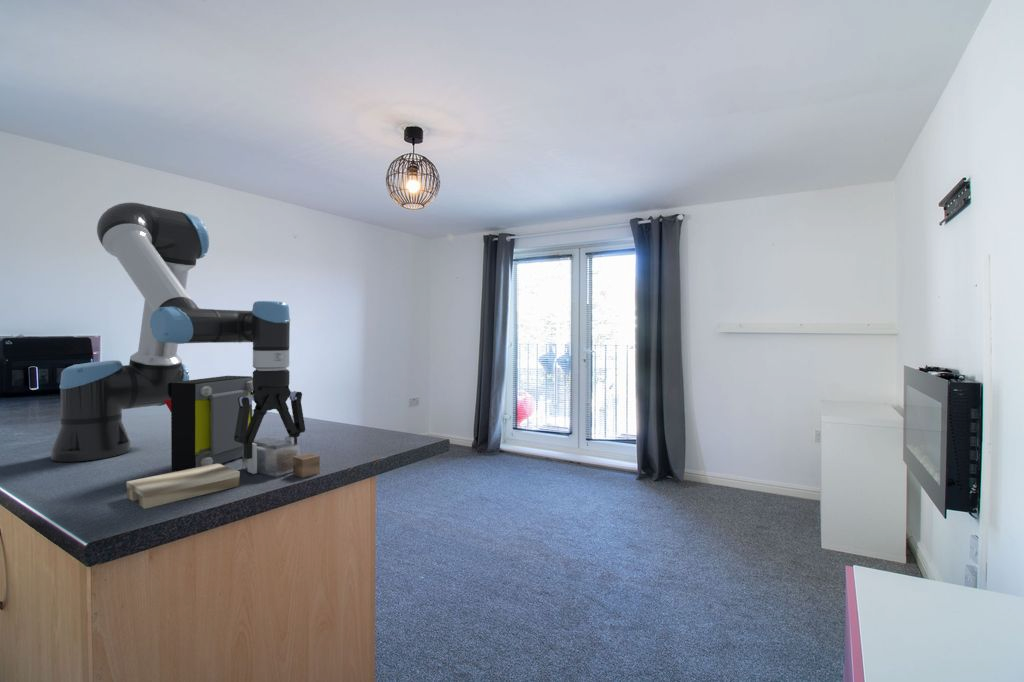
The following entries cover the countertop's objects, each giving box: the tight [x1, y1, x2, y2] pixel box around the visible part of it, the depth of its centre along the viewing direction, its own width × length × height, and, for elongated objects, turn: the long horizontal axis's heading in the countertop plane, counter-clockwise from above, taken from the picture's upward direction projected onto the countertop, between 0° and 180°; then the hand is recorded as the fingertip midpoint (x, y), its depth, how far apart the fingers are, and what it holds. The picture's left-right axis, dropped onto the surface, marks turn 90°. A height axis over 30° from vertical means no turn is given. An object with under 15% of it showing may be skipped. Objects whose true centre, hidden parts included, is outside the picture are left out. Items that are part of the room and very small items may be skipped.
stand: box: [126, 463, 241, 510], centre depth 94 cm, size 10×16×3 cm, turn 144°
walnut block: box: [292, 452, 321, 478], centre depth 107 cm, size 4×4×4 cm
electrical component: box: [165, 375, 253, 472], centre depth 116 cm, size 18×10×20 cm, turn 168°
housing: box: [241, 437, 301, 478], centre depth 110 cm, size 12×6×7 cm, turn 62°
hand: (271, 467), depth 110 cm, fingers open, 8 cm apart
